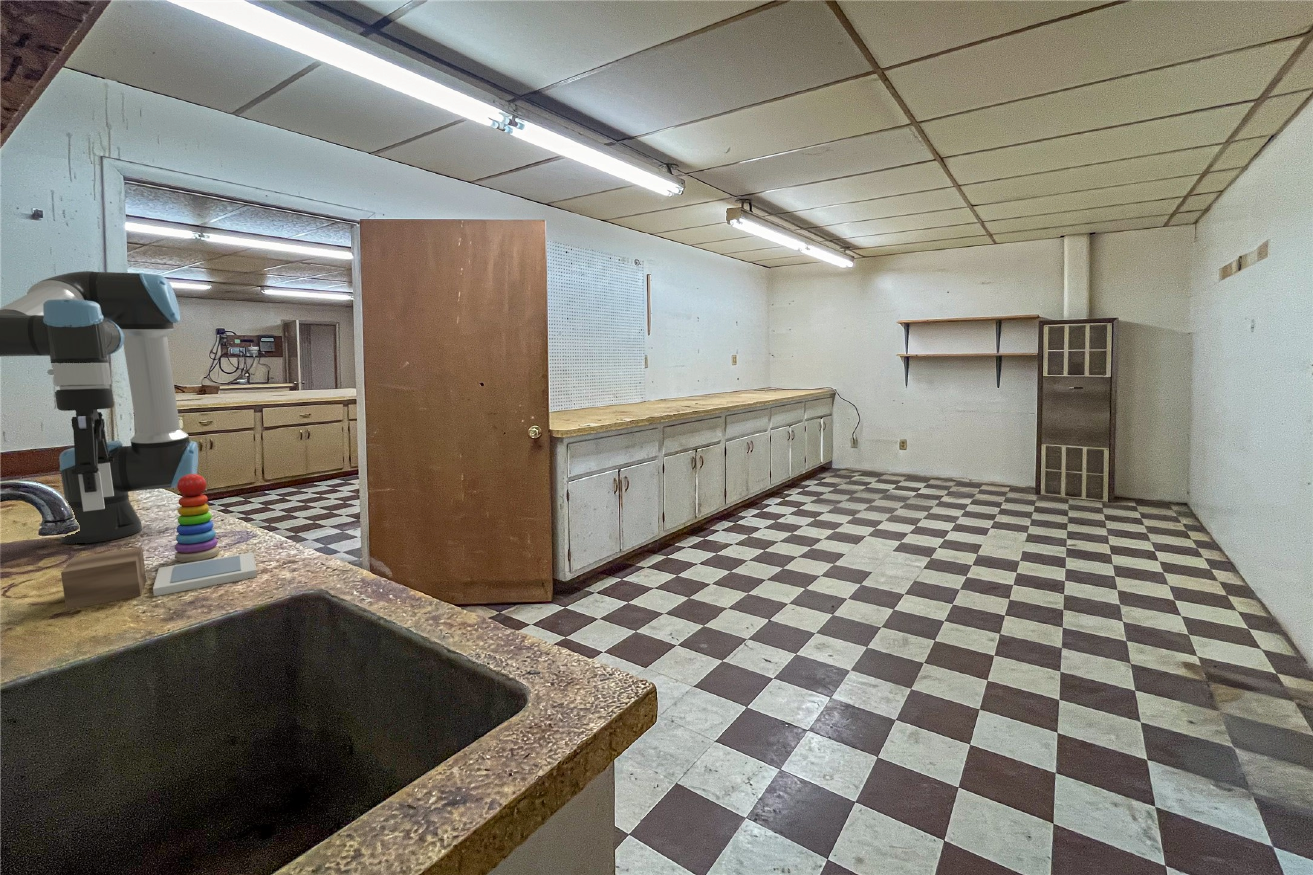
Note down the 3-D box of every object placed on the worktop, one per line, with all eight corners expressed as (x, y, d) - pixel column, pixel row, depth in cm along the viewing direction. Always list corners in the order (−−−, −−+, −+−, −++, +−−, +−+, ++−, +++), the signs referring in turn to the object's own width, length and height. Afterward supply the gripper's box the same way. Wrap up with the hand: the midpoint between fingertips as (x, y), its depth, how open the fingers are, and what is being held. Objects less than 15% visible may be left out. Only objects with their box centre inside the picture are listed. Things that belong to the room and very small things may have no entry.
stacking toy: (196, 564, 129) (185, 478, 126) (165, 562, 130) (154, 477, 128) (229, 552, 136) (219, 471, 134) (199, 551, 138) (190, 470, 135)
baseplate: (160, 574, 123) (158, 566, 122) (254, 558, 132) (253, 551, 132) (153, 596, 111) (152, 587, 111) (257, 576, 121) (256, 568, 120)
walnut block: (78, 592, 114) (72, 557, 113) (146, 581, 120) (142, 547, 119) (66, 610, 106) (60, 572, 105) (140, 596, 112) (135, 560, 111)
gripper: (67, 387, 116) (82, 494, 119) (39, 390, 96) (58, 519, 99) (119, 385, 120) (132, 489, 123) (102, 388, 100) (119, 512, 103)
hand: (99, 503), depth 111 cm, fingers open, 13 cm apart
